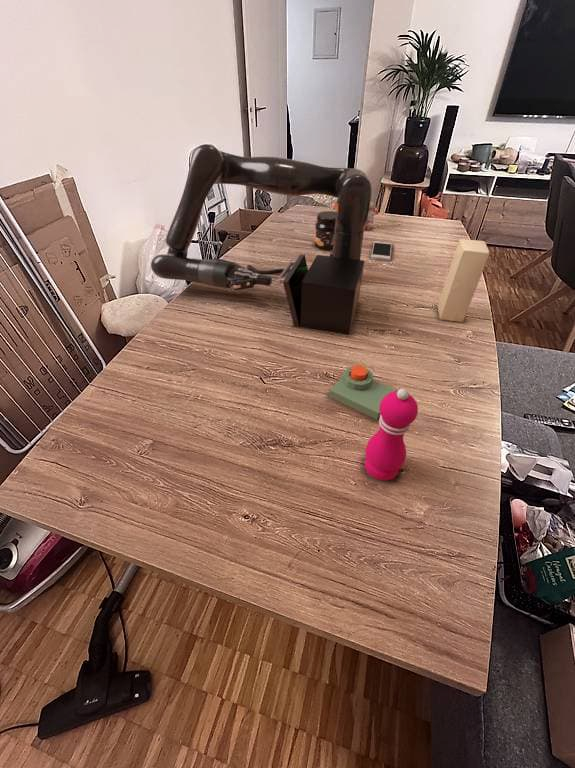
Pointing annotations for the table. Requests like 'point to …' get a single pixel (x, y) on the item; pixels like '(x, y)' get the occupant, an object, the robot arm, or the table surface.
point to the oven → (331, 294)
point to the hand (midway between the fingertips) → (270, 281)
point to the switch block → (360, 393)
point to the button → (358, 373)
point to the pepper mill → (390, 435)
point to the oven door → (294, 286)
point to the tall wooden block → (462, 279)
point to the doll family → (370, 214)
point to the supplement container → (325, 230)
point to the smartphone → (381, 250)
